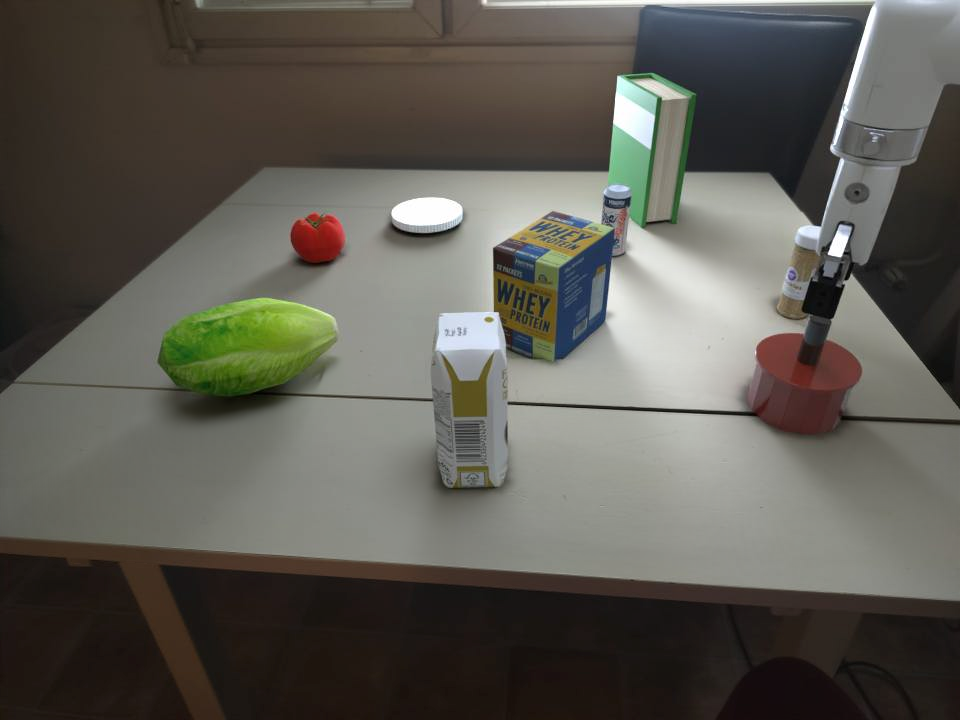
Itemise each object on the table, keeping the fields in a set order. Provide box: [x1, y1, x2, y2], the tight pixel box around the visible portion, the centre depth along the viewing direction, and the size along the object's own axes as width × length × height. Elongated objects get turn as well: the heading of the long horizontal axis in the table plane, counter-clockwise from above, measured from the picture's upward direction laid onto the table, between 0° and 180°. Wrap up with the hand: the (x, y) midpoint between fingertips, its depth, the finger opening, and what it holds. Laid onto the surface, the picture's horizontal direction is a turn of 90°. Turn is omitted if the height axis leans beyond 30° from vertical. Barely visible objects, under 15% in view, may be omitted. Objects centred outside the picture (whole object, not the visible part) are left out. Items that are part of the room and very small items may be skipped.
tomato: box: [289, 211, 346, 264], centre depth 119 cm, size 9×9×8 cm
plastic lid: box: [390, 197, 463, 234], centre depth 132 cm, size 14×14×2 cm
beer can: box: [600, 184, 632, 257], centre depth 117 cm, size 5×5×12 cm
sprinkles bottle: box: [776, 225, 821, 320], centre depth 98 cm, size 5×5×13 cm
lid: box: [754, 315, 863, 393], centre depth 77 cm, size 12×12×7 cm
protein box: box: [492, 210, 615, 362], centre depth 95 cm, size 10×15×16 cm
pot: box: [746, 362, 854, 435], centre depth 81 cm, size 11×11×8 cm
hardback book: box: [607, 72, 698, 228], centre depth 129 cm, size 18×7×24 cm, turn 13°
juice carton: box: [430, 311, 509, 489], centre depth 71 cm, size 8×9×19 cm
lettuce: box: [156, 297, 340, 398], centre depth 87 cm, size 13×23×12 cm, turn 110°
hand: (825, 295), depth 73 cm, fingers open, 9 cm apart
